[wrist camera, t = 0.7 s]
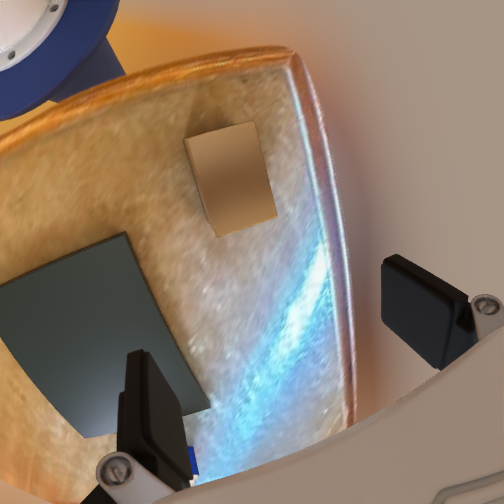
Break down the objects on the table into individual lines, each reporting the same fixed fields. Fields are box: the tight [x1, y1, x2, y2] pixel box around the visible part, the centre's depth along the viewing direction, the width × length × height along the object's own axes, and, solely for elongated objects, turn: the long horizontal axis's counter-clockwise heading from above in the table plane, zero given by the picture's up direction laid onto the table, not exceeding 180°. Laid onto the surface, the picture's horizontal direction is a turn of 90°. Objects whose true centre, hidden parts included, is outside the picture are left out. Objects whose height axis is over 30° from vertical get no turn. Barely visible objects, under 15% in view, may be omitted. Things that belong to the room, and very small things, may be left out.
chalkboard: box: [0, 231, 211, 438], centre depth 26 cm, size 22×18×1 cm
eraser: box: [183, 120, 278, 237], centre depth 22 cm, size 7×4×5 cm, turn 15°
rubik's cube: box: [188, 447, 199, 487], centre depth 32 cm, size 5×5×5 cm
